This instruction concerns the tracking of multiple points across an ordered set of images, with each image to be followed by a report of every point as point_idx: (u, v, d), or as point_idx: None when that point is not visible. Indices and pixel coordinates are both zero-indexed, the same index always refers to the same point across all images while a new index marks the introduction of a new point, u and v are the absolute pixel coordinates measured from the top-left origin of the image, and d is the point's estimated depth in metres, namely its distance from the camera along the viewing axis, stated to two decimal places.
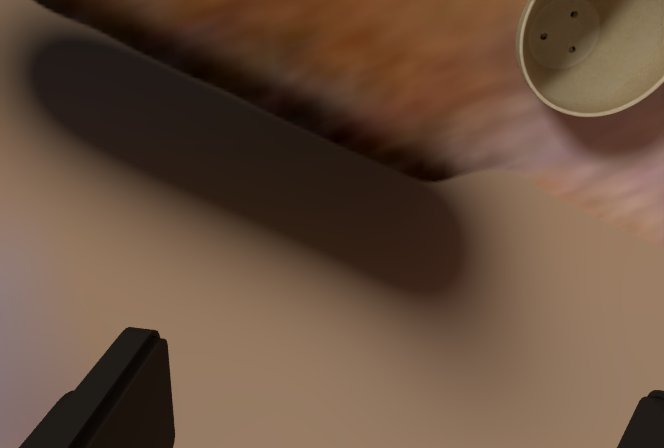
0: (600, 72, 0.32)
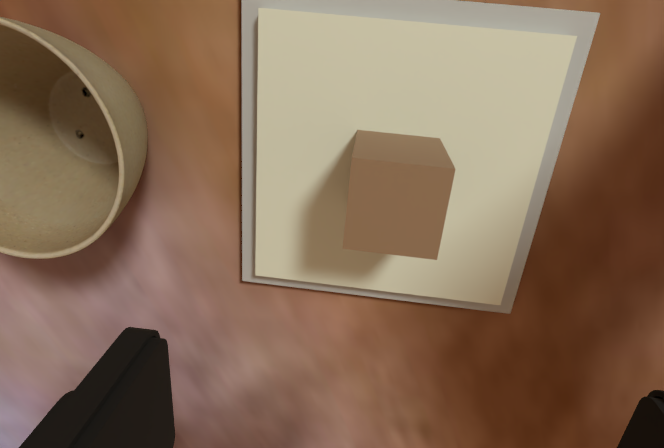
0: (36, 170, 0.23)
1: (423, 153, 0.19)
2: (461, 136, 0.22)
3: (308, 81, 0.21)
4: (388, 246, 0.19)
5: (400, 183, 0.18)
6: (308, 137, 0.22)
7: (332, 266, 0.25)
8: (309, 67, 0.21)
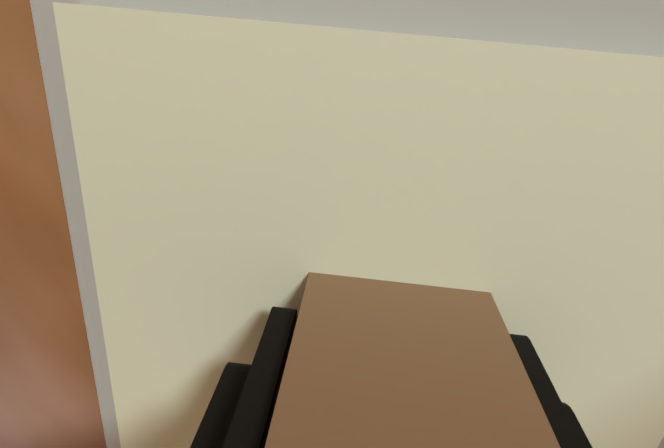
0: None
1: (471, 397, 0.07)
2: (539, 290, 0.10)
3: (192, 172, 0.09)
4: None
5: None
6: (204, 284, 0.10)
7: None
8: (191, 141, 0.09)
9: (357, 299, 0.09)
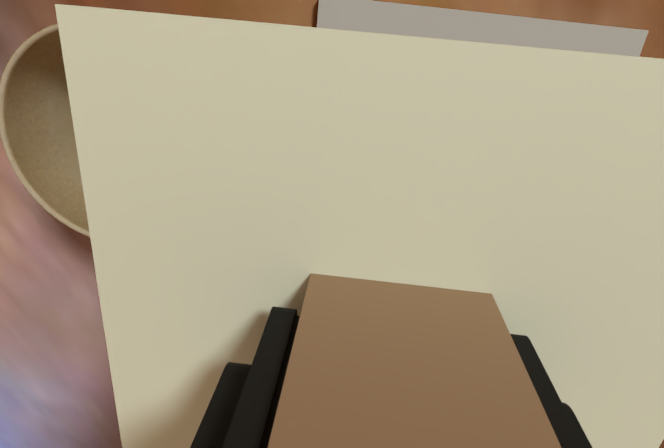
0: None
1: (473, 398, 0.07)
2: (540, 291, 0.10)
3: (194, 173, 0.09)
4: None
5: None
6: (205, 285, 0.10)
7: None
8: (193, 143, 0.09)
9: (358, 300, 0.09)
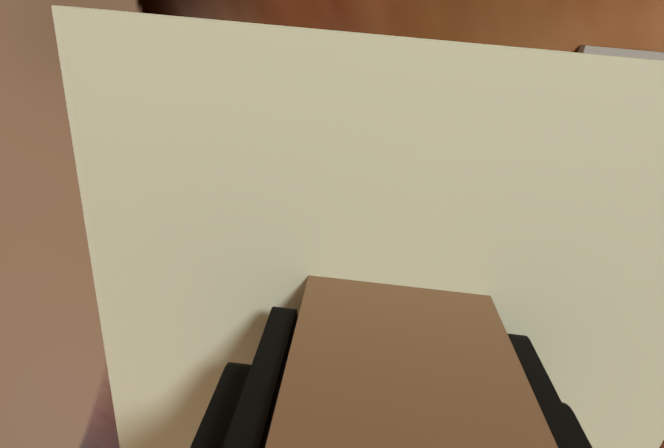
0: None
1: (471, 401, 0.07)
2: (539, 293, 0.10)
3: (191, 175, 0.09)
4: None
5: None
6: (203, 287, 0.10)
7: None
8: (190, 144, 0.09)
9: (356, 302, 0.09)
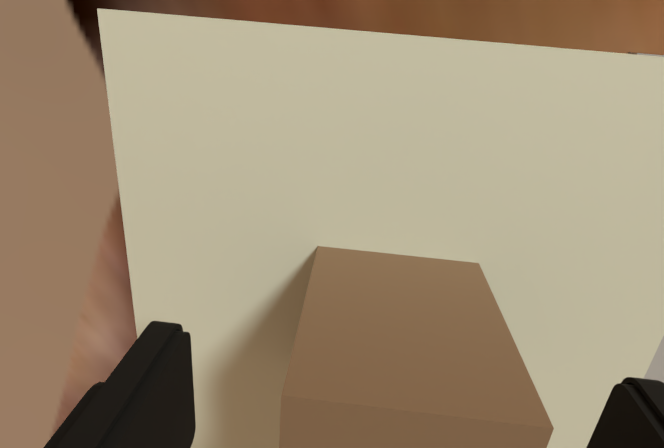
0: None
1: (458, 341, 0.08)
2: (521, 260, 0.11)
3: (215, 157, 0.11)
4: None
5: None
6: (224, 257, 0.12)
7: None
8: (215, 129, 0.10)
9: (360, 267, 0.10)
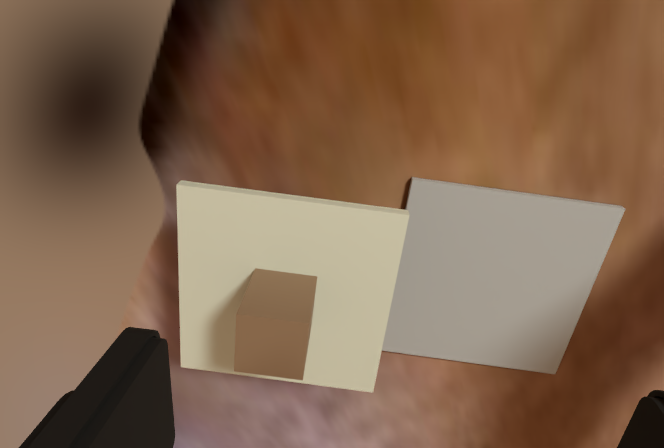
0: None
1: (294, 302, 0.26)
2: (333, 275, 0.29)
3: (216, 234, 0.28)
4: (267, 370, 0.26)
5: (271, 331, 0.25)
6: (218, 271, 0.29)
7: None
8: (216, 225, 0.28)
9: (270, 277, 0.28)
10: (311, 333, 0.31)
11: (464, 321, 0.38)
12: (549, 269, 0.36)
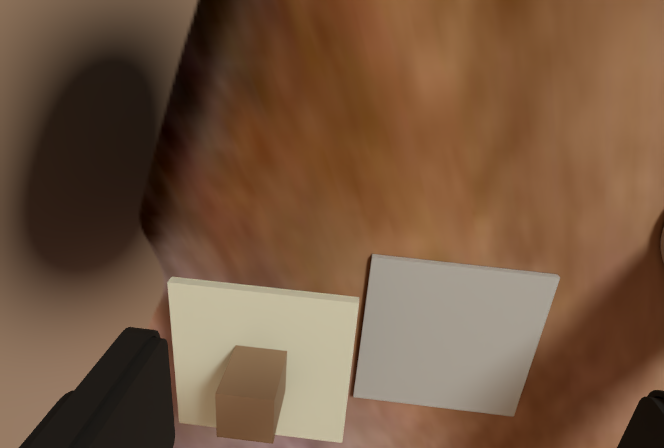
0: None
1: (264, 379, 0.31)
2: (300, 350, 0.34)
3: (202, 319, 0.34)
4: (243, 436, 0.31)
5: (244, 406, 0.30)
6: (205, 348, 0.35)
7: None
8: (202, 312, 0.34)
9: (246, 354, 0.34)
10: (286, 395, 0.36)
11: (428, 372, 0.43)
12: (498, 328, 0.41)
